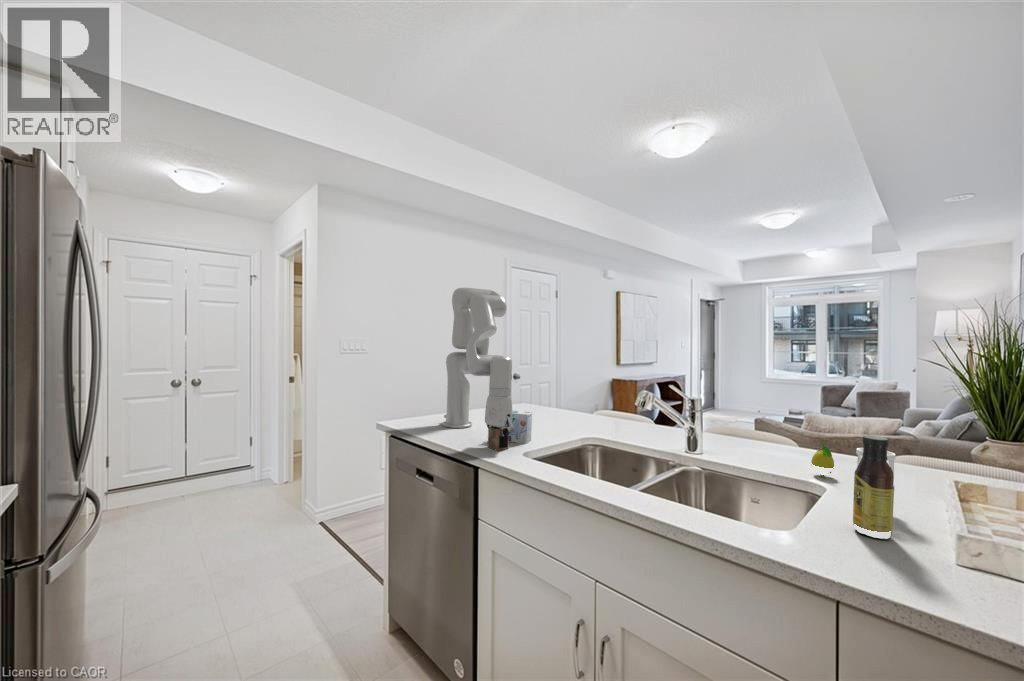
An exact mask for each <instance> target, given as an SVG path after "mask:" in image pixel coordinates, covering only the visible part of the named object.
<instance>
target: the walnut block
mask: <svg viewBox="0 0 1024 681" xmlns="http://www.w3.org/2000/svg"><path fill="white" fill-rule="evenodd" d="M503 429H504V431H505V428H503ZM487 432H488V434H487V435H488V436H487V448H488V449H490V450H494V451H502V450H509V445H508V446H507V447H505V448H499V440H500V436H501V432H500V428H498V427H495V426H494V427H489V429H488V428H487ZM508 443H509V436H508Z"/></svg>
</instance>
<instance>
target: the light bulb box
mask: <svg viewBox="0 0 1024 681" xmlns="http://www.w3.org/2000/svg"><path fill="white" fill-rule="evenodd" d="M532 420H533V412H532V411H525V410H523V411H522V410H513V409H512V424H513V426H514V429H513V430H512V431H511V432H510V433H509V442H510V443H515V444H516V443H517V444H524V445H525V444H526V445H527V444H528V443H529V442H531V441H532V427H533V421H532ZM503 427H504V426H503ZM509 442H508V443H509Z"/></svg>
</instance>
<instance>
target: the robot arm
mask: <svg viewBox="0 0 1024 681" xmlns="http://www.w3.org/2000/svg"><path fill="white" fill-rule="evenodd" d="M451 305H452V310H453V323H452V324H453V326H452V337H451V344H452V346H453V347H454V348H455V349H459V350H465V351H453V352H450V353H449V354H448V355H447V356H446V358H445V360H446V361H445V365H446V372H447V385H446V386H447V387H446V388H447V390H446V392H447V393H446V394H447V395H446V413H445V414H444V415H443V418H444V419H445V420H444V421H443V422H442V426H443V427H446V428H450V429H462V428H463V429H464V428H466V429H467V428H470V427H472V426H473V423H472V422H471V421H469V420H470V419H469V418H470V396H471V394H470V389H471V387H470V386H471V385H470V382H469V380H468V378H467V377H466V376H465V375H472V376H474V377H489V383H488V384H489V385H488V386H489V388H488V396H487V398H486V404H485V410H484V412H485V413H484V423H485V424H486V427H487V430H488V429H489V427H494V426H495V427H498V428H500V432H501V436H500V440H499V448H505V447H507V446H508V447H509V442H508V436H509V433H510V432H511V431H512V430H513V429H514V426H513V424H512V410H513V402H512V401H513V400H512V374H513V373H512V371H513V361H512V358H511V357H507V356H503V355H497V354H489V347H490V338H491V337H492V336H494V335H495V334H496V333H497V323H496V318H502V317H504V316H505V315H506V313H507V309H508V308H507V301H506V300H505V298H504V297H503V296H502V295H501V294H499V293H498V292H496V291H494V290H492V289H485V288H476V287H475V288H474V287H473V288H472V287H458V288H456V289H455V290H454V291H453V292H452V297H451ZM503 426H504V427H503ZM503 428H505V431H504V429H503Z"/></svg>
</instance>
